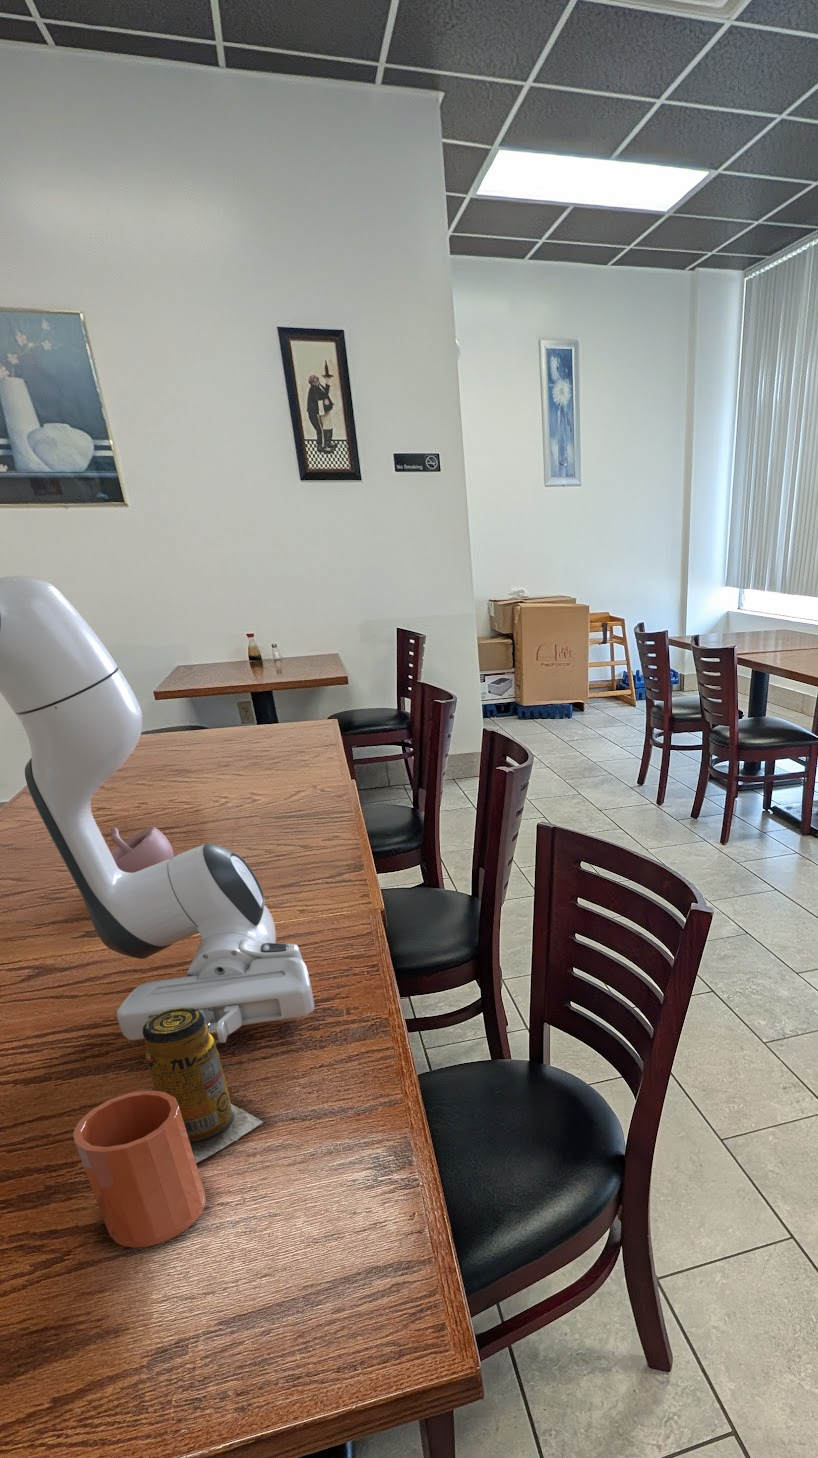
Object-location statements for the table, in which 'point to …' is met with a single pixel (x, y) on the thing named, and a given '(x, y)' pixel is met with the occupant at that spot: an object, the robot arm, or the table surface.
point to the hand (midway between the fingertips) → (208, 1039)
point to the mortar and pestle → (140, 849)
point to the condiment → (194, 1079)
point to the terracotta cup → (141, 1167)
